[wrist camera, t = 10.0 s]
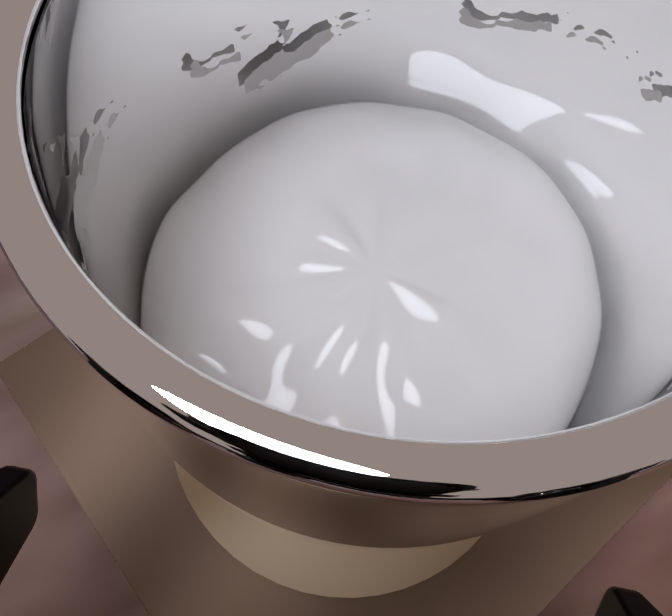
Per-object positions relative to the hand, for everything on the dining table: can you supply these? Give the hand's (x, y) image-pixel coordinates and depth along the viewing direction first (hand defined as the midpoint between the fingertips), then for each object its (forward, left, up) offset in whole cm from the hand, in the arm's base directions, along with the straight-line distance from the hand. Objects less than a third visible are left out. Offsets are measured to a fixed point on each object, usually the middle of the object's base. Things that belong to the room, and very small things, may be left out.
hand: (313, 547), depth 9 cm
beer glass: (+2, -3, -8) cm, 9 cm away
